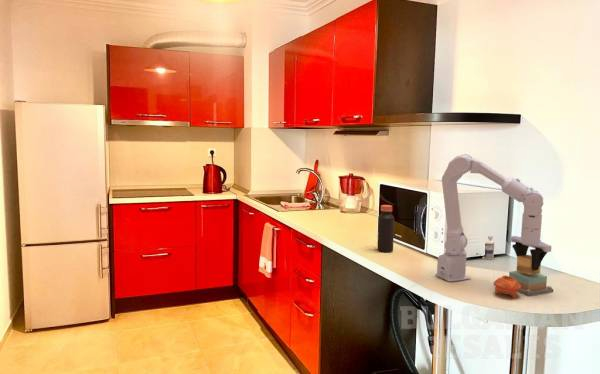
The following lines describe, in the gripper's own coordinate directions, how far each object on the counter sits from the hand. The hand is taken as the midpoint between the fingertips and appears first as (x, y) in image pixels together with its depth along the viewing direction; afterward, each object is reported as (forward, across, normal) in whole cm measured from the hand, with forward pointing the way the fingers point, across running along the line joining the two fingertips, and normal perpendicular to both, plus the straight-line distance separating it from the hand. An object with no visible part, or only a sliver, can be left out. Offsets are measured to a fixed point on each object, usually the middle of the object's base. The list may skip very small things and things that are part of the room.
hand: (528, 267), depth 152 cm
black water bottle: (+7, +58, +19) cm, 61 cm away
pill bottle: (+7, +34, -15) cm, 38 cm away
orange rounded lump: (+8, -2, +11) cm, 14 cm away
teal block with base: (+7, 0, 0) cm, 7 cm away
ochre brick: (+2, 0, 0) cm, 2 cm away
